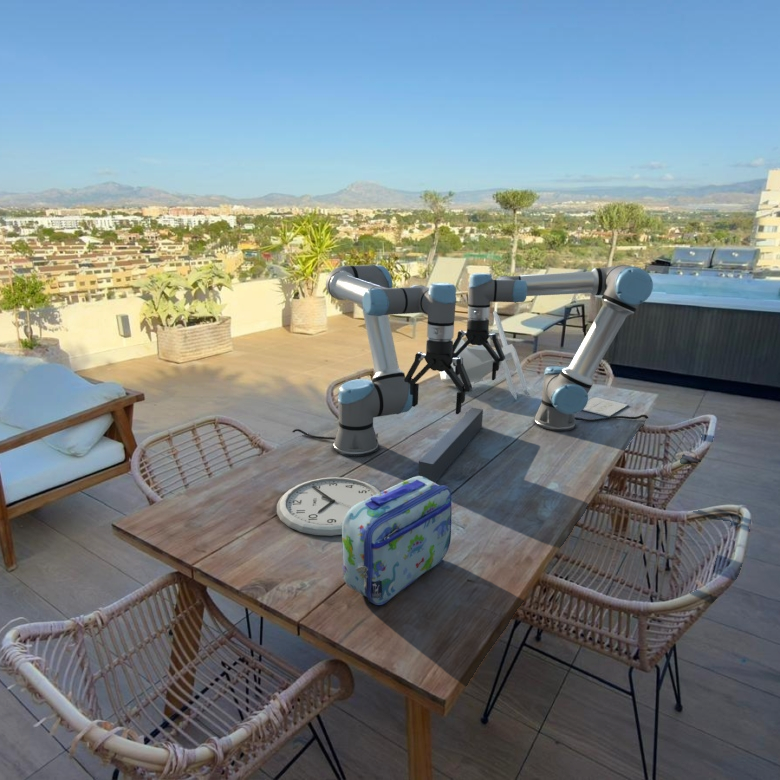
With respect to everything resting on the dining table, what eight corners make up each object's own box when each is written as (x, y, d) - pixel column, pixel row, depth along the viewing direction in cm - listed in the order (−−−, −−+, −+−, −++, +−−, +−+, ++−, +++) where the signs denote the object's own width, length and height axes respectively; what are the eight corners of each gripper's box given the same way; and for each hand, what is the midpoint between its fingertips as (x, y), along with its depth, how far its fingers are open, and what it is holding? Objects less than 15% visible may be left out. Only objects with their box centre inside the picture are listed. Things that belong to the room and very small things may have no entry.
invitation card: (608, 416, 214) (573, 407, 224) (608, 416, 214) (573, 408, 224) (628, 404, 229) (594, 396, 238) (628, 405, 229) (594, 397, 238)
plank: (470, 425, 203) (471, 407, 201) (481, 427, 201) (483, 409, 199) (417, 483, 156) (418, 461, 154) (432, 486, 154) (433, 464, 152)
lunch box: (371, 618, 102) (371, 524, 95) (336, 591, 109) (334, 502, 103) (455, 562, 119) (460, 479, 113) (420, 542, 126) (423, 463, 120)
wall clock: (392, 527, 129) (268, 531, 127) (391, 533, 130) (269, 537, 127) (383, 473, 158) (282, 475, 155) (383, 478, 158) (282, 480, 156)
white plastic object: (461, 429, 252) (437, 405, 227) (444, 352, 274) (420, 323, 250) (535, 404, 240) (518, 377, 215) (510, 326, 262) (492, 293, 237)
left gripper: (394, 336, 150) (392, 405, 157) (479, 346, 140) (473, 420, 147) (404, 331, 157) (402, 398, 163) (486, 341, 147) (480, 412, 153)
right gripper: (440, 317, 185) (439, 375, 191) (511, 323, 175) (507, 383, 181) (447, 314, 191) (445, 370, 197) (516, 319, 181) (511, 378, 187)
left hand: (436, 409), depth 155 cm, fingers open, 13 cm apart
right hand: (475, 377), depth 189 cm, fingers open, 13 cm apart
